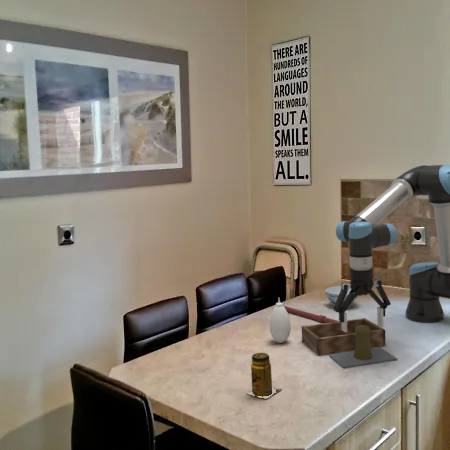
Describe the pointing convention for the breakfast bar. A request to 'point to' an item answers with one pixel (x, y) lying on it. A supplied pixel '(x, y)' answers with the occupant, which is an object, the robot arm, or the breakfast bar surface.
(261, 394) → the condiment
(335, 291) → the chinaware
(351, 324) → the wooden box
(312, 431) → the breakfast bar surface
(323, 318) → the red rod with collar
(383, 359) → the charcoal mat
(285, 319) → the white bulb air blower
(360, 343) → the olive dumbbell shape
